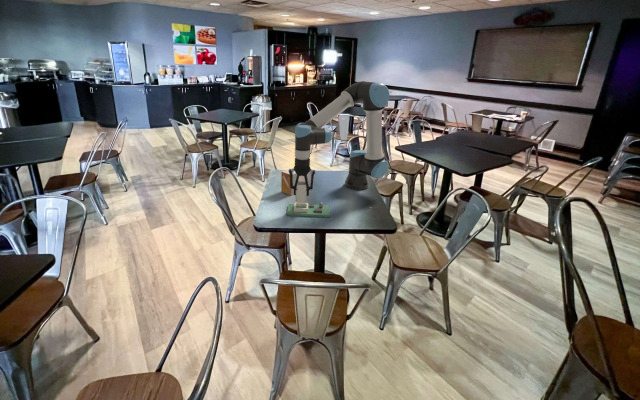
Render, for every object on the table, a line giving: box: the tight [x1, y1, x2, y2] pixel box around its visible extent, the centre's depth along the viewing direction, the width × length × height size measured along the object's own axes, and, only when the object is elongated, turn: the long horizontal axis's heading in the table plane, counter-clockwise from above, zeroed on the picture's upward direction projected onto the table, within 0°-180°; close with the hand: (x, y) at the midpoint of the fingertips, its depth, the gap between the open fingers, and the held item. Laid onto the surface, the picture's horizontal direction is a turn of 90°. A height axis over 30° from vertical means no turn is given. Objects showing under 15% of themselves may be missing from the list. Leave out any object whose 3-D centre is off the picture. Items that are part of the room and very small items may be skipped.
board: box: [286, 201, 331, 218], centre depth 168 cm, size 22×12×4 cm, turn 91°
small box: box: [280, 168, 298, 196], centre depth 189 cm, size 8×6×13 cm
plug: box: [296, 180, 306, 203], centre depth 165 cm, size 4×4×10 cm
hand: (301, 201), depth 167 cm, fingers closed on plug, 4 cm apart
